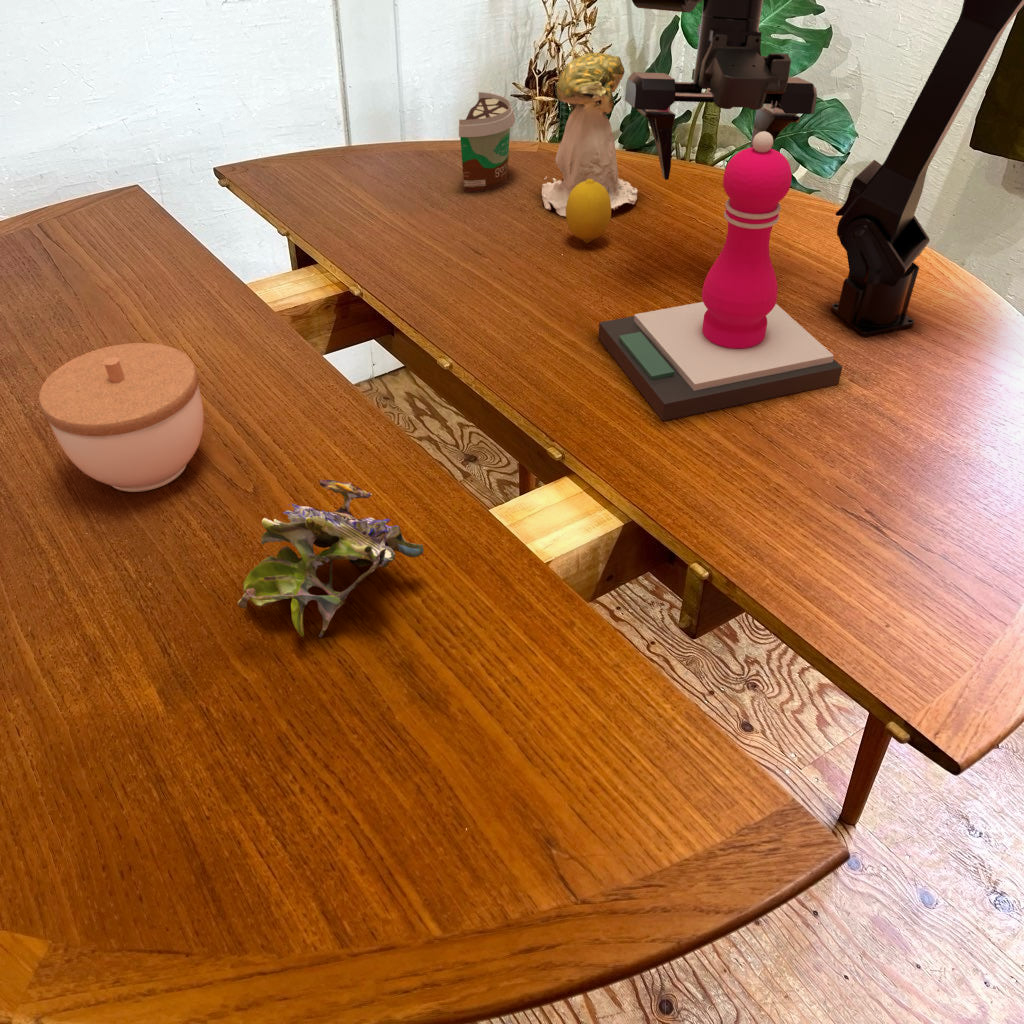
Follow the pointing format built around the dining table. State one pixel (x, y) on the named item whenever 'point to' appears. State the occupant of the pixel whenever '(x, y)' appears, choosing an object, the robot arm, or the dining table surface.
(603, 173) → the mushroom
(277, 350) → the dining table surface
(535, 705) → the dining table surface
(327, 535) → the passion flower
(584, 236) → the lemon
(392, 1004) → the dining table surface
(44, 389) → the lidded bowl
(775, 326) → the scale
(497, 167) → the food container
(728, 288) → the pepper mill
